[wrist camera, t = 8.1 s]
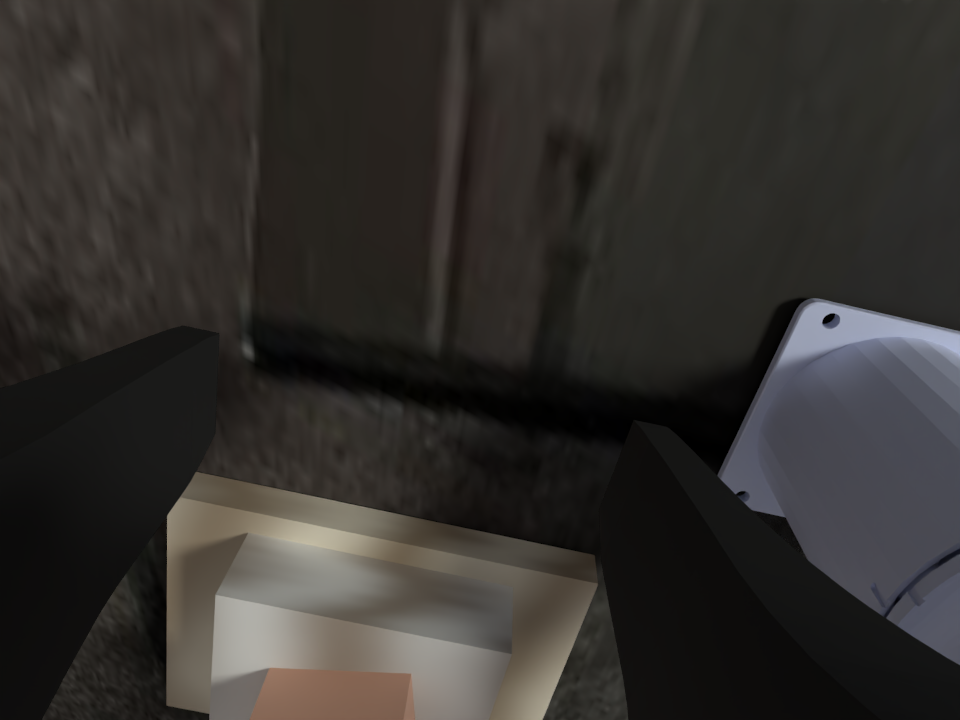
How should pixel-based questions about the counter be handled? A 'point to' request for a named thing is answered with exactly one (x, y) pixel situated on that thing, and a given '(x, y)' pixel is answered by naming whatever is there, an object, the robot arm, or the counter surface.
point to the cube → (334, 695)
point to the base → (370, 533)
